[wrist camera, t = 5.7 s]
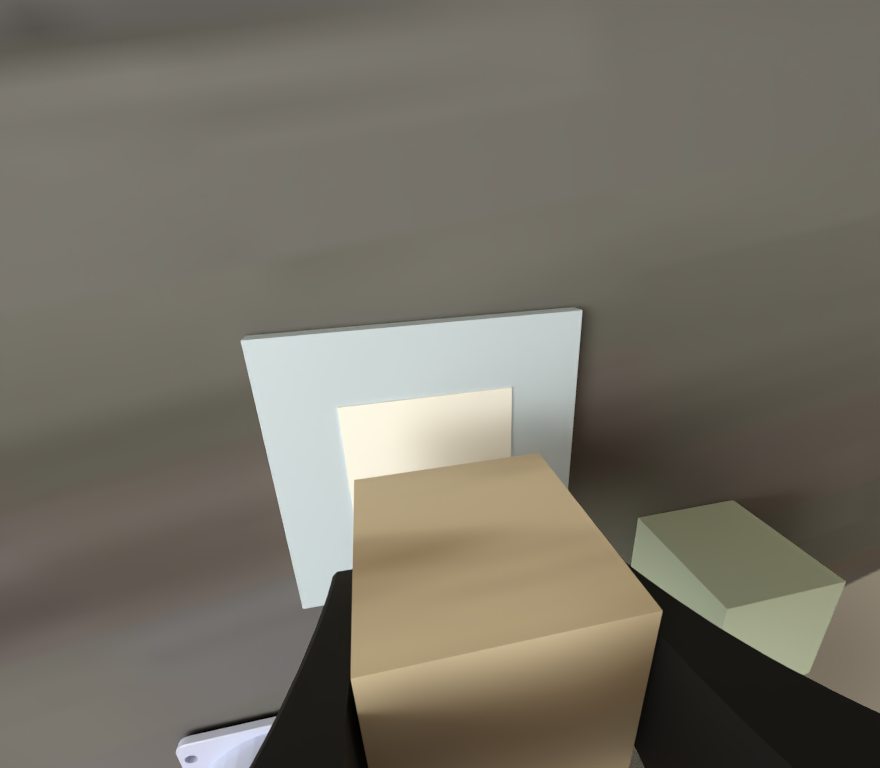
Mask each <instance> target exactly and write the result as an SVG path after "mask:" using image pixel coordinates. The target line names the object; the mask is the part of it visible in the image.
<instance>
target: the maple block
mask: <svg viewBox="0 0 880 768" xmlns="http://www.w3.org/2000/svg"><path fill="white" fill-rule="evenodd" d="M662 612H663V610H662V609H661V608H660V607H659V605H658V604H657V603H656V601H655V600H654V599H653V598H652V596H651V595H650V594H649V593H648V591H647V590H646V589H645V587H644V586H643V585H642V584H641V582H640V581H639V580H638V579H637V577H636V576H635V575H634V573H633V572H632V571H631V570H630V568H629V567H628V566H627V565H626V563H625V562H624V561H623V559H622V558H621V557H620V556H619V554H618V553H617V552H616V551H615V549H614V548H613V547H612V545H611V544H610V543H609V542H608V540H607V539H606V538H605V537H604V535H603V534H602V533H601V531H600V530H599V529H598V528H597V526H596V525H595V524H594V523H593V521H592V520H591V519H590V517H589V516H588V515H587V514H586V512H585V511H584V510H583V509H582V507H581V506H580V505H579V503H578V502H577V501H576V500H575V498H574V497H573V496H572V495H571V493H570V492H569V491H568V489H567V488H566V487H565V486H564V484H563V483H562V482H561V480H560V479H559V478H558V477H557V475H556V474H555V473H554V472H553V470H552V469H551V468H550V466H549V465H548V464H547V463H546V461H545V460H544V459H543V458H542V456H541V455H540V454H539V453H534V454H527V455H520V456H514V457H507V458H500V459H493V460H486V461H479V462H473V463H466V464H459V465H452V466H445V467H439V468H432V469H425V470H418V471H411V472H405V473H398V474H391V475H384V476H377V477H370V478H364V479H357V480H354V518H353V572H352V627H351V684H352V689H353V694H354V699H355V704H356V709H357V714H358V719H359V724H360V729H361V734H362V739H363V744H364V749H365V754H366V759H367V764H368V768H629V766H630V761H631V757H632V752H633V747H634V743H635V738H636V733H637V729H638V724H639V719H640V715H641V710H642V705H643V701H644V696H645V691H646V686H647V682H648V677H649V672H650V668H651V663H652V658H653V654H654V649H655V644H656V640H657V635H658V630H659V626H660V621H661V616H662Z"/></svg>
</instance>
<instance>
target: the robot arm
mask: <svg viewBox="0 0 880 768" xmlns="http://www.w3.org/2000/svg"><path fill="white" fill-rule="evenodd" d="M624 562H625V561H624ZM625 563H626V562H625ZM626 565H627V566H628V567H629V568H630V570H631V571H632V572H633V573H634V575H635V576H636V577H637V579H638V580H639V581H640V582H641V584H642V585H643V586H644V587H645V589H646V590H647V591H648V593H649V594H650V595H651V596H652V598H653V599H654V600H655V601H656V603H657V604H658V605H659V607H660V608H661V609H662V610H663V612H662V616H661V621H660V626H659V630H658V635H657V640H656V644H655V649H654V654H653V658H652V663H651V668H650V672H649V677H648V682H647V686H646V691H645V696H644V701H643V705H642V710H641V715H640V719H639V724H638V729H637V733H636V738H635V743H634V746H635V748H636V750H637V752H638V754H639V756H640V758H641V761H642V763H643V765H644V767H645V768H880V713H878V712H876V711H873V710H871V709H869V708H867V707H865V706H863V705H861V704H859V703H857V702H855V701H853V700H851V699H848V698H846V697H844V696H842V695H840V694H838V693H836V692H834V691H832V690H830V689H828V688H826V687H825V686H823V685H821V684H819V683H817V682H815V681H813V680H811V679H809V678H807V677H805V676H803V675H802V674H800V673H798V672H796V671H794V670H792V669H790V668H788V667H786V666H785V665H783V664H781V663H779V662H777V661H776V660H774V659H772V658H770V657H768V656H767V655H765V654H763V653H761V652H760V651H758V650H756V649H755V648H753V647H751V646H749V645H748V644H746V643H744V642H743V641H741V640H739V639H738V638H736V637H734V636H732V635H731V634H729V633H727V632H726V631H724V630H723V629H721V628H719V627H718V626H716V625H715V624H713V623H711V622H710V621H708V620H707V619H705V618H704V617H702V616H701V615H699V614H698V613H696V612H695V611H693V610H692V609H690V608H689V607H687V606H686V605H684V604H683V603H681V602H680V601H678V600H677V599H675V598H674V597H673V596H671V595H670V594H668V593H667V592H665V591H664V590H663V589H661V588H660V587H658V586H657V585H656V584H654V583H653V582H651V581H650V580H649V579H647V578H646V577H645V576H643V575H642V574H641V573H639V572H638V571H637V570H635V569H634V568H632V567H631V566H630V565H628V564H627V563H626ZM352 572H353V569H350V570H344V571H338V572H336V573H335V574H334V575H333V577H332V581H331V585H330V588H329V592H328V595H327V598H326V601H325V604H324V607H323V610H322V613H321V615H320V618H319V621H318V624H317V626H316V629H315V631H314V634H313V636H312V639H311V641H310V643H309V646H308V648H307V651H306V653H305V656H304V658H303V660H302V663H301V665H300V667H299V670H298V672H297V674H296V676H295V678H294V680H293V682H292V685H291V687H290V689H289V691H288V693H287V695H286V697H285V700H284V702H283V704H282V706H281V708H280V710H279V712H278V714H277V716H274V717H270V718H266V719H261V720H257V721H252V722H248V723H243V724H239V725H235V726H230V727H226V728H221V729H217V730H212V731H208V732H204V733H199V734H195V735H190V736H187V737H185V738H183V739H182V740H180V742H179V744H178V747H177V750H176V755H177V757H178V759H179V761H180V763H181V765H182V767H183V768H368V764H367V759H366V754H365V749H364V744H363V739H362V734H361V729H360V724H359V719H358V714H357V709H356V704H355V699H354V694H353V689H352V684H351V627H352Z"/></svg>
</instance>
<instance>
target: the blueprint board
mask: <svg viewBox="0 0 880 768" xmlns="http://www.w3.org/2000/svg"><path fill="white" fill-rule="evenodd" d="M581 322H582V310H581V309H578V308H575V307H569V308H557V309H546V310H534V311H523V312H511V313H500V314H488V315H477V316H465V317H454V318H443V319H431V320H420V321H408V322H397V323H385V324H374V325H362V326H351V327H339V328H328V329H316V330H305V331H293V332H282V333H270V334H259V335H247V336H245V337H244V338H243V339H242V340H241V344H242V348H243V353H244V357H245V361H246V366H247V370H248V374H249V378H250V383H251V387H252V391H253V396H254V400H255V404H256V409H257V413H258V417H259V422H260V426H261V430H262V434H263V439H264V443H265V447H266V452H267V456H268V460H269V465H270V469H271V473H272V477H273V482H274V486H275V490H276V495H277V499H278V503H279V508H280V512H281V516H282V521H283V525H284V529H285V533H286V538H287V542H288V546H289V551H290V555H291V559H292V564H293V568H294V572H295V576H296V581H297V585H298V589H299V594H300V598H301V602H302V607H303V609H306V608H311V607H316V606H321V605H324V604H325V601H326V598H327V595H328V592H329V588H330V585H331V581H332V577H333V575H334V574H335V573H336V572H338V571H344V570H350V569H353V518H354V480H357V479H364V478H370V477H377V476H384V475H391V474H398V473H405V472H411V471H418V470H425V469H432V468H439V467H445V466H452V465H459V464H466V463H473V462H479V461H486V460H493V459H500V458H507V457H514V456H520V455H527V454H534V453H539V454H540V455H541V456H542V458H543V459H544V460H545V461H546V463H547V464H548V465H549V466H550V468H551V469H552V470H553V472H554V473H555V474H556V475H557V477H558V478H559V479H560V480H561V482H562V483H563V484H564V486H565V487H566V488H567V489H568V483H569V471H570V459H571V446H572V434H573V421H574V409H575V397H576V384H577V372H578V359H579V347H580V335H581Z"/></svg>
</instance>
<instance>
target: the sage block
mask: <svg viewBox="0 0 880 768" xmlns="http://www.w3.org/2000/svg"><path fill="white" fill-rule="evenodd" d="M631 567H632V568H634V569H635V570H637V571H638V572H639V573H641V574H642V575H643V576H645V577H646V578H647V579H649V580H650V581H651V582H653V583H654V584H656V585H657V586H658V587H660V588H661V589H663V590H664V591H665V592H667V593H668V594H670V595H671V596H673V597H674V598H675V599H677V600H678V601H680V602H681V603H683V604H684V605H686V606H687V607H689V608H690V609H692V610H693V611H695V612H696V613H698V614H699V615H701V616H702V617H704V618H705V619H707V620H708V621H710V622H711V623H713V624H715V625H716V626H718V627H719V628H721V629H723V630H724V631H726V632H727V633H729V634H731V635H732V636H734V637H736V638H738V639H739V640H741V641H743V642H744V643H746V644H748V645H749V646H751V647H753V648H755V649H756V650H758V651H760V652H761V653H763V654H765V655H767V656H768V657H770V658H772V659H774V660H776V661H777V662H779V663H781V664H783V665H785V666H786V667H788V668H790V669H792V670H794V671H796V672H798V673H800V674H802V675H803V674H807V673H809V672H810V669H811V667H812V664H813V662H814V659H815V657H816V655H817V652H818V650H819V647H820V645H821V642H822V640H823V637H824V635H825V632H826V630H827V628H828V625H829V623H830V620H831V618H832V615H833V613H834V610H835V608H836V605H837V603H838V600H839V598H840V595H841V593H842V590H843V588H844V586H845V583H846V581H845V580H843V579H842V578H840V577H839V576H838V575H836V574H835V573H833V572H832V571H831V570H829V569H828V568H827V567H825V566H824V565H822V564H821V563H820V562H818V561H817V560H815V559H814V558H813V557H811V556H810V555H809V554H807V553H806V552H804V551H803V550H802V549H800V548H799V547H797V546H796V545H795V544H793V543H792V542H791V541H789V540H788V539H786V538H785V537H784V536H782V535H781V534H779V533H778V532H777V531H775V530H774V529H773V528H771V527H770V526H768V525H767V524H766V523H764V522H763V521H761V520H760V519H759V518H757V517H756V516H755V515H753V514H752V513H750V512H749V511H748V510H746V509H745V508H743V507H742V506H741V505H739V504H738V503H736V502H735V501H734V500H731V501H726V502H720V503H715V504H709V505H704V506H699V507H693V508H688V509H682V510H677V511H672V512H666V513H661V514H655V515H650V516H645V517H639V518H638V522H637V529H636V535H635V542H634V549H633V555H632V562H631Z"/></svg>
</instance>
